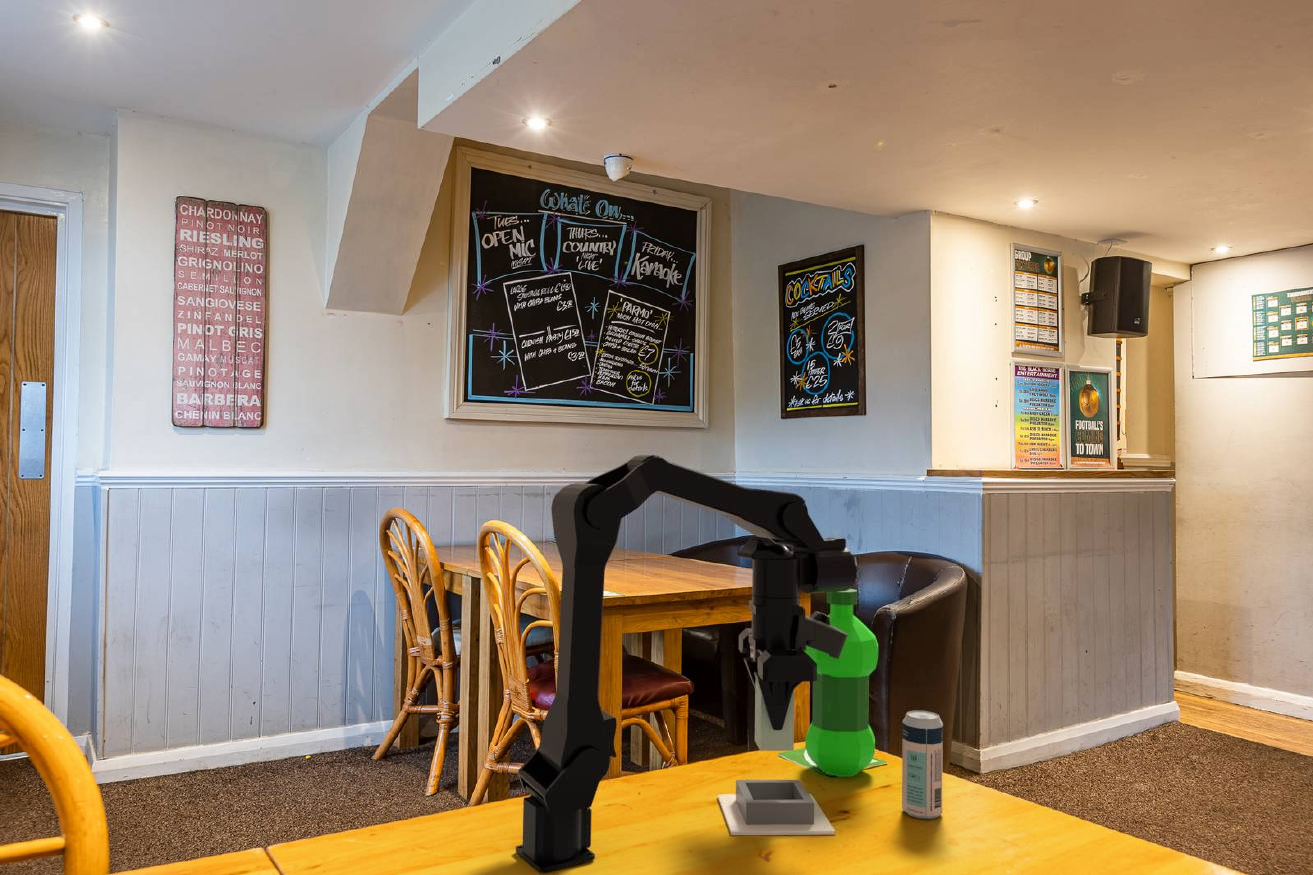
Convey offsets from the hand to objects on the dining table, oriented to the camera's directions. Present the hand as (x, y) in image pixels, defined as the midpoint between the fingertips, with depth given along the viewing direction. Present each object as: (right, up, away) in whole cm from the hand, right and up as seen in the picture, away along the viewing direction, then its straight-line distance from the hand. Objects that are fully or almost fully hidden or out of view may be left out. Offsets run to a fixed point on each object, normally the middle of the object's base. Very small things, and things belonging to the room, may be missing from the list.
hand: (774, 724), depth 113 cm
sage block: (0, -3, 0) cm, 2 cm away
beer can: (+18, -11, +1) cm, 21 cm away
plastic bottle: (+11, -12, +17) cm, 23 cm away
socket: (0, -11, 0) cm, 11 cm away
